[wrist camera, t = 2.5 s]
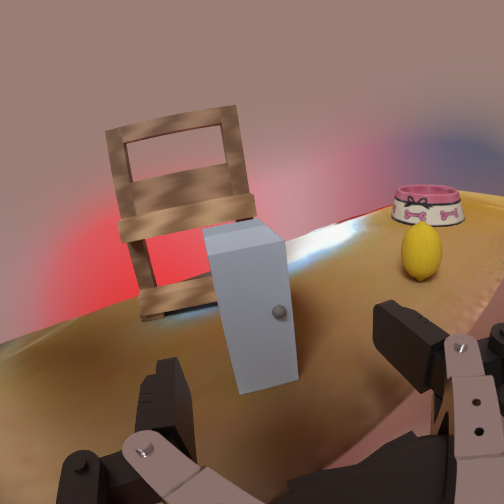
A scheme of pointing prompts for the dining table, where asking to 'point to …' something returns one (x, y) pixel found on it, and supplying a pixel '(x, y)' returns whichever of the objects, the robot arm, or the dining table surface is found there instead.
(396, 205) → the dog bowl
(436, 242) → the lemon
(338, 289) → the dining table surface
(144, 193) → the rack
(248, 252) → the cabinet
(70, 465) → the robot arm
